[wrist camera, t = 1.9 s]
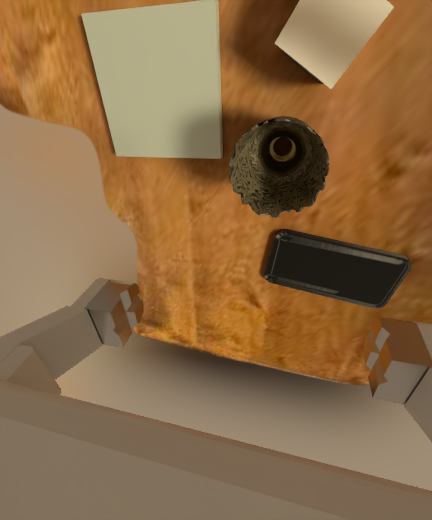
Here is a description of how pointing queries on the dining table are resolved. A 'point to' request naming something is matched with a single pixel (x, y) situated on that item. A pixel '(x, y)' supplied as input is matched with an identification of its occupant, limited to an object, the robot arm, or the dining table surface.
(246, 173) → the cup
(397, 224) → the dining table surface
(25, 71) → the dining table surface
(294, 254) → the phone
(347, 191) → the dining table surface
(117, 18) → the sage board
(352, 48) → the letter cube
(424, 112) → the dining table surface
